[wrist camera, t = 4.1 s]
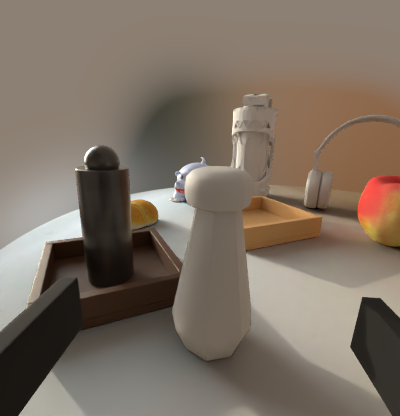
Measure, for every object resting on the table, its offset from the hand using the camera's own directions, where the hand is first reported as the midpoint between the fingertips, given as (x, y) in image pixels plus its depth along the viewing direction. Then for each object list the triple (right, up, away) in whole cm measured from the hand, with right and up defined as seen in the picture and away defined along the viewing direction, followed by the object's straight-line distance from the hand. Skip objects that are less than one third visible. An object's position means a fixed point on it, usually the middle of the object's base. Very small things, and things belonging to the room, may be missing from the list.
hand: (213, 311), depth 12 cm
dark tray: (-10, -3, +15) cm, 18 cm away
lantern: (+12, +8, +55) cm, 57 cm away
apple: (+28, -1, +26) cm, 38 cm away
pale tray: (+9, +2, +31) cm, 33 cm away
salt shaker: (0, -5, +8) cm, 9 cm away
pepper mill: (-10, -2, +14) cm, 18 cm away
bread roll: (-12, +2, +31) cm, 34 cm away
